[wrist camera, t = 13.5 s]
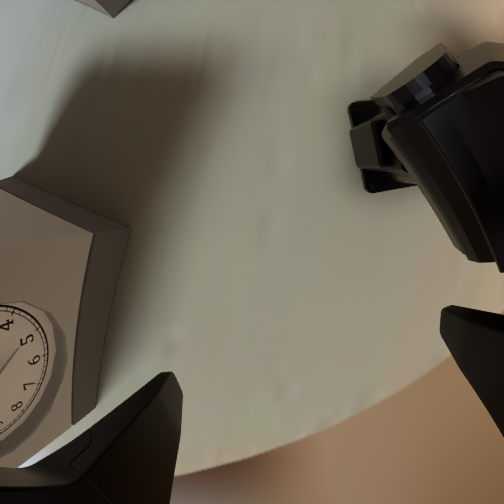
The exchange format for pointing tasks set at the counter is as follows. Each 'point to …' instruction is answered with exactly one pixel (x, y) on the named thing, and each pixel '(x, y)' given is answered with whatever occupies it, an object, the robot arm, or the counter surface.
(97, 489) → the robot arm
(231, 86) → the counter surface
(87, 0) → the tub
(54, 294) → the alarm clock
